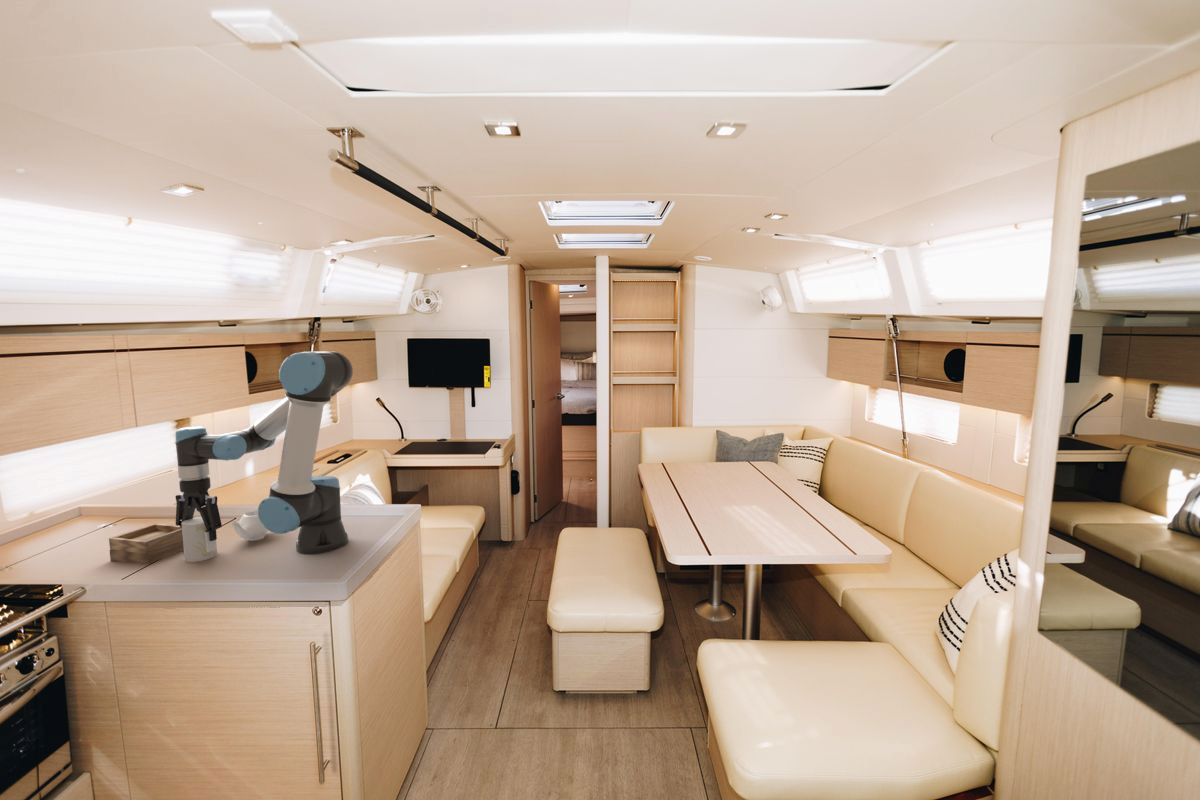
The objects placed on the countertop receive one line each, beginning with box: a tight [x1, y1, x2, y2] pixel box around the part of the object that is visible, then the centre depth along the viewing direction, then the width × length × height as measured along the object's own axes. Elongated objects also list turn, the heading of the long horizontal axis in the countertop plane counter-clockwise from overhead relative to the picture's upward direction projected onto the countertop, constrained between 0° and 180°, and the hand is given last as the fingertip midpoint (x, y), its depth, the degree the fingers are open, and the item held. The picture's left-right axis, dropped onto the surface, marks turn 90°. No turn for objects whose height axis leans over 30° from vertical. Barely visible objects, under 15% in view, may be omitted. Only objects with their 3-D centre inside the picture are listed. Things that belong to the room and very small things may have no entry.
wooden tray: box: [108, 523, 183, 553], centre depth 169 cm, size 14×14×4 cm
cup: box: [182, 516, 218, 563], centre depth 166 cm, size 8×8×12 cm
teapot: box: [231, 509, 269, 542], centre depth 182 cm, size 10×20×9 cm, turn 178°
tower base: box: [109, 540, 184, 564], centre depth 170 cm, size 14×14×4 cm
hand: (200, 549), depth 166 cm, fingers closed on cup, 8 cm apart
